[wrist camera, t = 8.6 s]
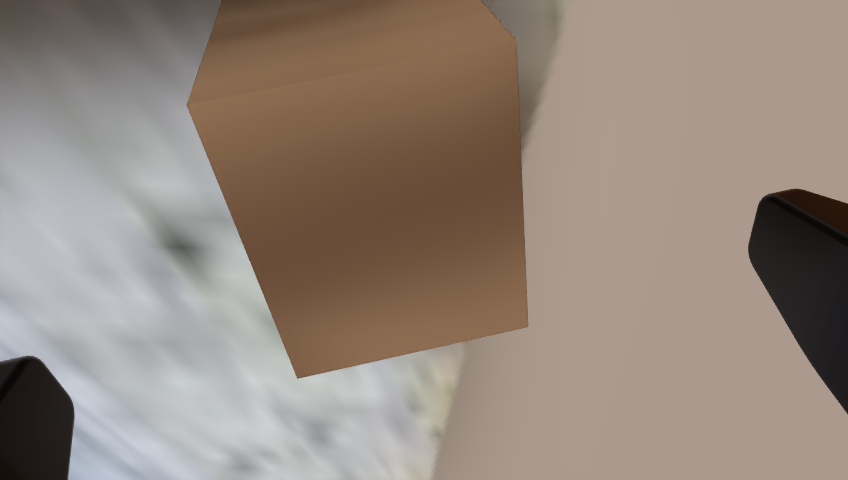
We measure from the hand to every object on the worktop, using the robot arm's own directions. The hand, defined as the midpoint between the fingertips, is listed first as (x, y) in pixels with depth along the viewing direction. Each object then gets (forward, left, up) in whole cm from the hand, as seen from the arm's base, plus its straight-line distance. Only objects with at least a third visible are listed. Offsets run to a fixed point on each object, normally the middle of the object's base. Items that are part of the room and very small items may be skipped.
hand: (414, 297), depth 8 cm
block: (0, 0, -7) cm, 7 cm away
